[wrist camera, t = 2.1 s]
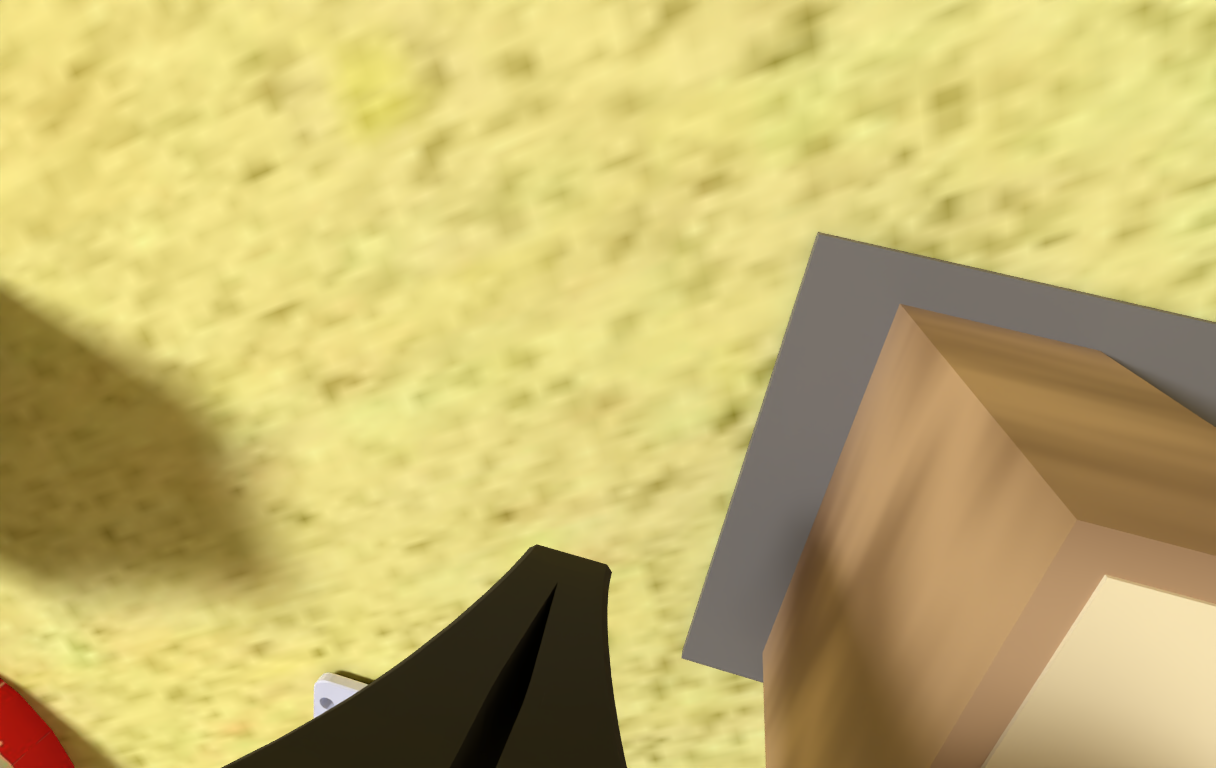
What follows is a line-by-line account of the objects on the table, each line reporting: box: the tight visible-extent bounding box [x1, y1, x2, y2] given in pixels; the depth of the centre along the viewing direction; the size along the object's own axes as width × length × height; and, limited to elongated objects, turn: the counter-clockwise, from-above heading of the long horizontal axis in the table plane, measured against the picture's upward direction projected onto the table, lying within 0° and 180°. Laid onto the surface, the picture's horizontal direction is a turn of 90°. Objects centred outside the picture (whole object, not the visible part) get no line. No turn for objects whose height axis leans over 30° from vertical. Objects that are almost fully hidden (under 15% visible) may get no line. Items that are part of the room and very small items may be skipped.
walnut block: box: [762, 304, 1216, 768], centre depth 12 cm, size 10×4×8 cm, turn 169°
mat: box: [682, 232, 1216, 682], centre depth 15 cm, size 12×15×1 cm
